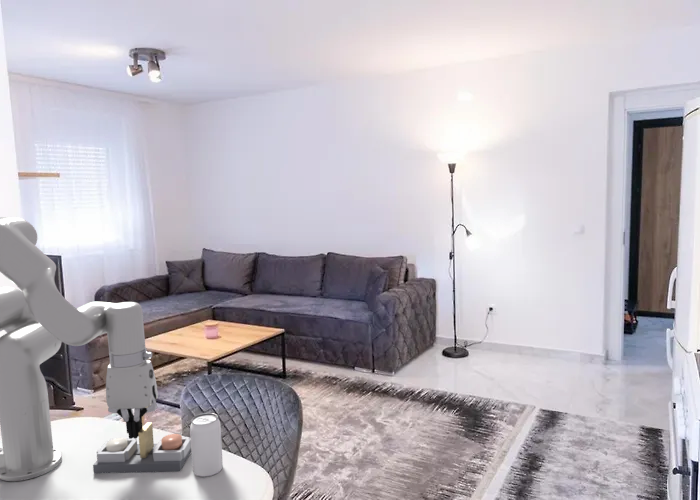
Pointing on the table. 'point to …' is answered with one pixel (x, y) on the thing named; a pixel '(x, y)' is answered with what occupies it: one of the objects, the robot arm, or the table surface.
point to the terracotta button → (172, 442)
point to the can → (206, 445)
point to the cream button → (117, 444)
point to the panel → (134, 464)
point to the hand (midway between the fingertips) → (135, 435)
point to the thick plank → (146, 440)
